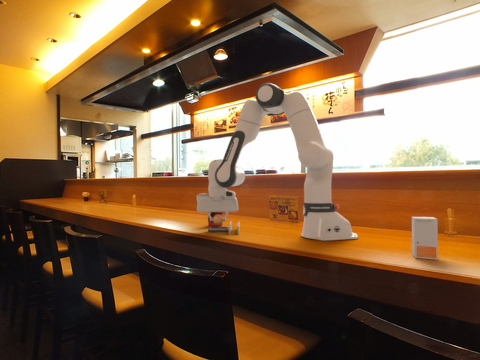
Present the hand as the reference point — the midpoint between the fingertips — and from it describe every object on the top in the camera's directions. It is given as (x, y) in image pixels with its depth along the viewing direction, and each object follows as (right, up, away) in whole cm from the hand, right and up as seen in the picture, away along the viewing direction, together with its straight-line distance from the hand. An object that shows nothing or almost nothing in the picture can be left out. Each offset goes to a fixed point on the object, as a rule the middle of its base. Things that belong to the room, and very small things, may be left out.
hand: (218, 221), depth 143 cm
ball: (0, -2, 0) cm, 2 cm away
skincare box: (+66, -3, -55) cm, 86 cm away
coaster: (0, -5, 0) cm, 5 cm away
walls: (+8, -4, -3) cm, 10 cm away
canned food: (-3, -5, +15) cm, 16 cm away
